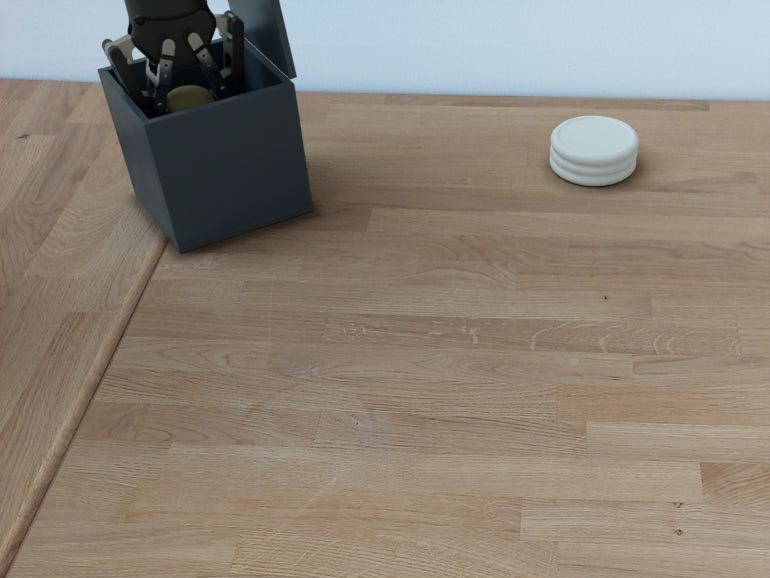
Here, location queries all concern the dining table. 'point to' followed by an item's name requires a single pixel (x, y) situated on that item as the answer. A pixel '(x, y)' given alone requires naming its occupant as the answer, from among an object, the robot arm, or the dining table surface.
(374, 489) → the dining table surface
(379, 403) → the dining table surface
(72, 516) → the dining table surface
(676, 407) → the dining table surface
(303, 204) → the chest
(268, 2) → the lid
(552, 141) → the coaster
